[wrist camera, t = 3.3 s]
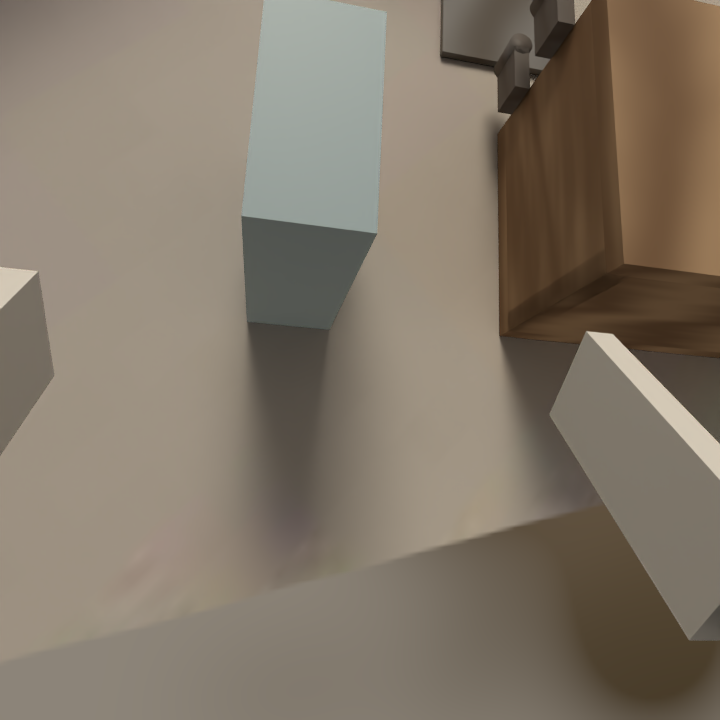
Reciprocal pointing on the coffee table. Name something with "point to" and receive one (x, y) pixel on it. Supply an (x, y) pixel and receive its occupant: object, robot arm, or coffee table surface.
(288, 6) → the door panel
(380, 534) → the coffee table surface
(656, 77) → the cabinet
